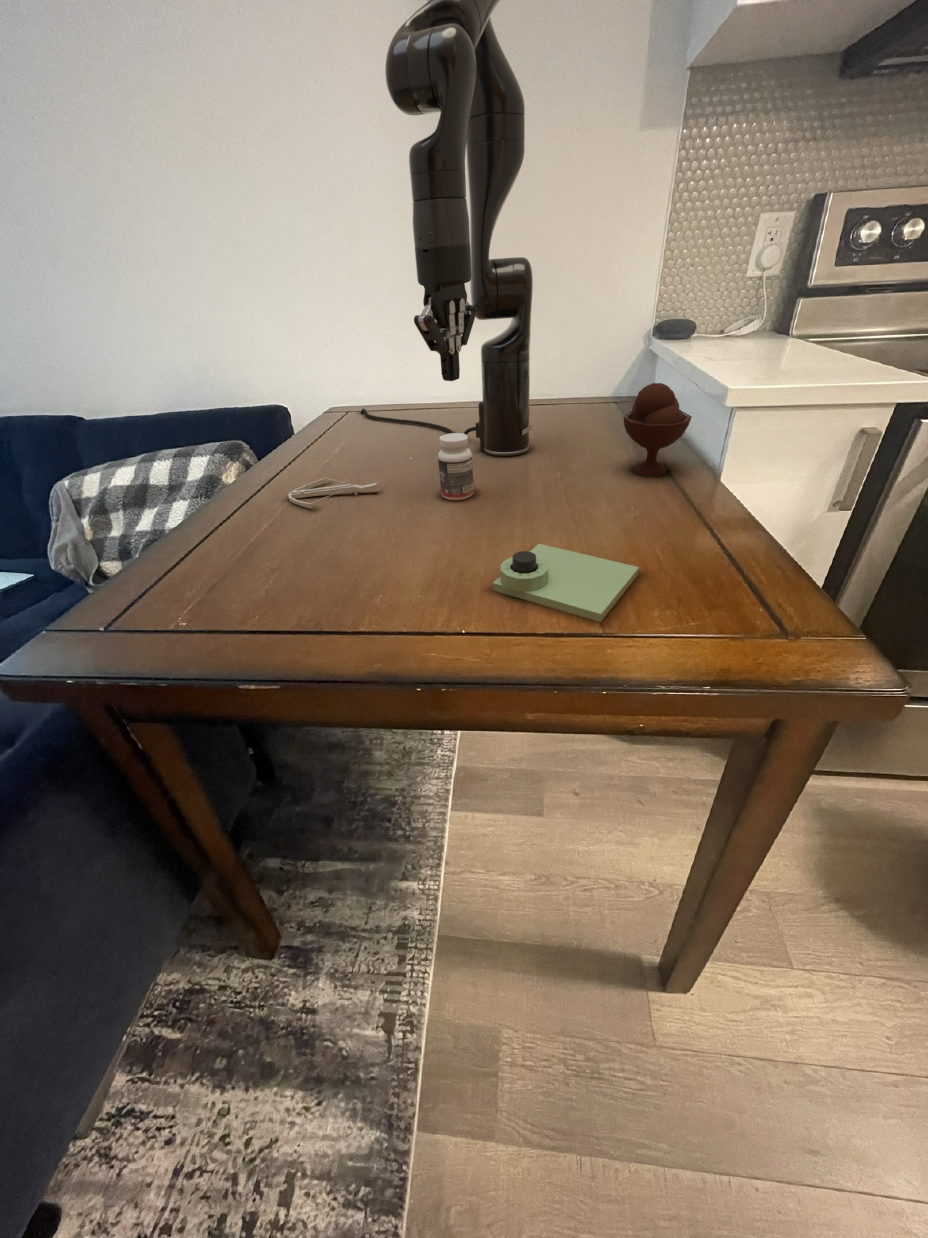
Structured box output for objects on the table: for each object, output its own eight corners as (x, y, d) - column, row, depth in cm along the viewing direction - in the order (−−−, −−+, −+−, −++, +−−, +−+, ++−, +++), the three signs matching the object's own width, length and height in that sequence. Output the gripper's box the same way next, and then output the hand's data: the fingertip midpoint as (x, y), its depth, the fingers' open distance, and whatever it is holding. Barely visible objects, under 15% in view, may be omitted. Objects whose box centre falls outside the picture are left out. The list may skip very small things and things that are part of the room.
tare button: (508, 571, 65) (508, 558, 64) (519, 561, 67) (519, 548, 66) (528, 577, 64) (529, 563, 63) (539, 566, 66) (540, 554, 65)
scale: (491, 592, 67) (490, 570, 65) (538, 551, 75) (539, 531, 73) (599, 624, 60) (601, 601, 58) (638, 575, 68) (641, 553, 66)
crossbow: (281, 516, 92) (278, 505, 91) (299, 489, 103) (296, 478, 102) (374, 505, 91) (371, 493, 90) (382, 478, 102) (380, 468, 101)
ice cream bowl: (686, 481, 93) (702, 388, 84) (618, 480, 95) (628, 389, 86) (679, 461, 101) (693, 374, 93) (617, 460, 103) (625, 376, 95)
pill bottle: (440, 490, 96) (435, 433, 90) (472, 487, 96) (469, 430, 91) (442, 502, 91) (437, 443, 86) (475, 499, 91) (472, 440, 86)
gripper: (447, 241, 79) (455, 369, 89) (389, 246, 71) (405, 387, 81) (491, 238, 76) (494, 372, 86) (435, 243, 67) (446, 391, 77)
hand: (451, 379), depth 83 cm, fingers closed
